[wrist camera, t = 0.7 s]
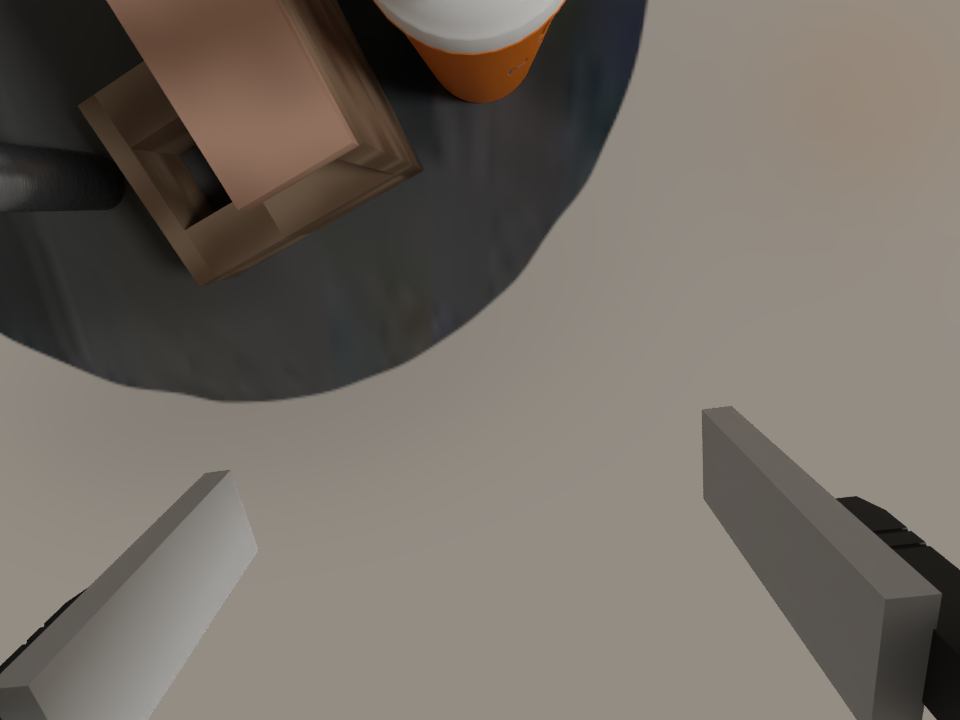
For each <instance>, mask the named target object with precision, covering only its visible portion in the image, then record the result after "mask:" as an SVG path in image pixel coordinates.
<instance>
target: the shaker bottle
mask: <svg viewBox="0 0 960 720" xmlns="http://www.w3.org/2000/svg"><path fill="white" fill-rule="evenodd" d="M565 1H566V0H373V2H374V3H375V4H376V5H377V7H378V8H379V9H380V10H381V12H382V13H383V14H384V15H385V17H386V18H387V19H388V20H389V21H390V22H391V23H393V24H394V25H395V26H396V27H397V28H399V29H400V30H401V31H402V32H403V33H404V34H405V35H406V36H407V38H408V39H409V41H410V42H411V43H412V45H413V46H414V47H415V49H416V50H417V52H418V53H419V54H420V56H421V57H422V59H423V60H424V61H425V63H426V64H427V66H428V67H429V68H430V70H431V71H432V73H433V74H434V75H435V77H436V78H437V79H438V81H439V82H440V83H441V84H442V86H443V87H444V88H445V89H446V90H448V91H449V92H450V93H451V94H453V95H454V96H456V97H458V98H460V99H462V100H465V101H469V102H473V103H486V102H493V101H495V100H498V99H501V98H503V97H505V96H506V95H508V94H509V93H511V92H512V91H513V90H514V89H515V88H516V87H517V86H518V85H519V84H520V83H521V82H522V80H523V79H524V78H525V76H526V75H527V73H528V70H529V68H530V66H531V64H532V62H533V60H534V57H535V55H536V53H537V51H538V49H539V47H540V45H541V42H542V40H543V38H544V36H545V34H546V32H547V30H548V27H549V25H550V23H551V21H552V19H553V17H554V15H555V14H556V13H557V12H558V11H559V9H560V8H561V7H562V5H563V4H564V2H565Z"/></svg>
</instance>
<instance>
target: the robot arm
mask: <svg viewBox="0 0 960 720" xmlns="http://www.w3.org/2000/svg"><path fill="white" fill-rule="evenodd" d="M702 437H703V489H704V492H703V493H704V500H705V501H706V503H707V504H708V506H709V507H710V508H711V510H712V511H713V513H714V514H715V516H716V517H717V518H718V520H719V521H720V523H721V524H722V526H723V527H724V529H725V530H726V532H727V533H728V534H729V536H730V537H731V539H732V540H733V542H734V543H735V545H736V546H737V547H738V549H739V550H740V552H741V553H742V555H743V556H744V558H745V559H746V560H747V562H748V563H749V565H750V566H751V568H752V569H753V570H754V572H755V573H756V575H757V576H758V578H759V579H760V581H761V582H762V583H763V585H764V586H765V588H766V589H767V591H768V592H769V593H770V595H771V596H772V598H773V599H774V601H775V602H776V604H777V605H778V607H779V608H780V609H781V611H782V612H783V614H784V615H785V617H786V618H787V620H788V621H789V622H790V624H791V625H792V627H793V628H794V630H795V631H796V633H797V634H798V635H799V637H800V638H801V640H802V641H803V643H804V644H805V645H806V647H807V648H808V650H809V651H810V653H811V654H812V656H813V657H814V659H815V660H816V661H817V663H818V664H819V666H820V667H821V669H822V670H823V671H824V673H825V674H826V676H827V677H828V679H829V680H830V682H831V683H832V685H833V686H834V687H835V689H836V690H837V692H838V693H839V695H840V696H841V697H842V699H843V700H844V702H845V703H846V705H847V706H848V708H849V709H850V711H851V712H852V713H853V715H854V716H855V718H856V719H857V720H922V715H923V710H924V705H925V706H926V707H927V708H928V710H929V711H930V712H931V713H932V714H933V716H934V717H935V718H936V719H937V720H960V570H959V569H958V568H957V567H955V566H954V565H953V564H952V563H950V562H949V561H948V560H947V559H945V558H944V557H943V556H942V555H941V554H939V553H938V552H937V551H935V550H934V549H933V548H932V547H931V546H926V543H925V542H924V541H923V540H922V539H921V538H919V537H918V536H917V535H916V534H914V533H913V532H912V531H908V530H907V527H906V526H904V525H903V524H902V523H901V522H899V521H898V520H897V519H896V518H894V517H893V516H892V515H891V514H890V513H888V512H887V511H886V510H884V509H882V508H880V507H878V506H876V505H874V504H871V503H870V502H867V501H865V500H863V499H861V498H859V497H857V496H854V497H845V498H836V499H835V498H834V497H833V496H832V495H831V494H830V493H828V492H827V491H826V490H825V489H824V488H823V487H821V485H819V484H818V483H817V482H816V481H815V480H814V479H813V478H812V477H810V476H809V475H808V474H807V473H806V472H805V471H804V470H803V469H802V468H800V467H799V466H798V465H797V464H796V463H795V462H794V461H793V460H791V459H790V458H789V457H788V456H787V455H786V454H785V453H784V452H782V451H781V450H780V449H779V448H778V447H777V446H776V445H774V444H773V443H772V442H771V441H770V440H769V439H768V438H767V437H766V436H764V435H763V434H762V433H761V432H760V431H759V430H758V429H756V428H755V427H754V426H753V425H752V424H751V423H750V422H749V421H748V420H746V419H745V418H744V417H743V416H742V415H741V414H739V412H737V411H736V410H735V409H734V408H733V407H732V406H728V407H720V408H712V409H704V410H702ZM257 552H258V547H257V545H256V542H255V539H254V536H253V533H252V530H251V527H250V524H249V521H248V518H247V516H246V513H245V510H244V507H243V504H242V501H241V498H240V495H239V492H238V489H237V486H236V484H235V481H234V478H233V475H232V472H231V470H226V471H218V472H211V473H205V474H204V475H203V476H202V477H201V478H200V479H199V480H198V481H197V482H196V483H195V484H194V485H193V486H192V487H190V489H188V491H186V492H185V493H184V494H183V495H182V496H181V497H180V498H179V499H178V500H177V501H176V502H175V503H174V504H173V505H172V506H171V507H170V508H169V509H168V510H167V511H166V512H165V513H164V514H163V515H162V516H161V517H160V518H159V519H158V520H157V521H156V522H155V523H154V524H153V525H152V526H151V527H150V528H149V529H148V530H147V531H146V532H145V533H144V534H143V535H142V536H140V538H139V539H137V540H136V541H135V542H134V543H133V544H132V545H131V546H130V547H129V548H128V549H127V550H126V551H125V552H124V553H123V554H122V555H121V556H120V557H119V558H118V559H117V560H116V561H115V562H114V563H113V564H112V565H111V566H110V567H109V568H108V569H107V570H106V571H105V572H104V573H103V574H102V575H101V576H100V577H99V578H98V579H97V580H96V581H95V582H94V583H93V584H92V585H91V586H89V587H88V588H87V589H85V590H84V591H83V592H81V593H79V594H78V595H77V596H75V597H74V598H72V599H71V600H69V601H68V602H66V603H65V604H64V605H63V606H62V607H61V608H60V609H59V610H58V611H57V612H56V613H55V614H54V615H53V616H52V617H51V618H50V619H49V620H48V621H46V622H45V623H44V627H41V628H39V629H38V630H37V631H36V632H35V633H34V634H33V635H32V636H31V637H30V638H29V639H28V640H27V643H26V644H24V645H22V646H21V647H19V648H18V649H17V650H16V651H15V652H14V653H13V654H12V655H11V656H10V657H9V658H8V659H7V660H6V661H5V662H4V663H3V664H2V665H1V666H0V720H148V719H149V717H150V716H151V714H152V713H153V711H154V710H155V708H156V707H157V705H158V703H159V702H160V700H161V699H162V697H163V696H164V694H165V693H166V691H167V689H168V688H169V687H170V685H171V684H172V682H173V680H174V679H175V677H176V676H177V674H178V673H179V671H180V670H181V668H182V667H183V665H184V664H185V662H186V660H187V659H188V657H189V656H190V654H191V653H192V651H193V650H194V648H195V647H196V645H197V644H198V642H199V641H200V639H201V638H202V636H203V634H204V633H205V631H206V630H207V628H208V626H209V625H210V624H211V622H212V621H213V619H214V618H215V616H216V615H217V613H218V611H219V610H220V608H221V607H222V605H223V604H224V602H225V601H226V599H227V597H228V596H229V595H230V593H231V591H232V590H233V588H234V587H235V585H236V584H237V582H238V581H239V579H240V578H241V576H242V575H243V573H244V572H245V570H246V568H247V567H248V565H249V564H250V562H251V561H252V559H253V558H254V556H255V555H256V553H257Z"/></svg>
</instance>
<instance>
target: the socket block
mask: <svg viewBox="0 0 960 720" xmlns="http://www.w3.org/2000/svg"><path fill="white" fill-rule="evenodd" d="M107 2H108V4H109V5H110V7H111V8H112V10H113V12H114V13H115V15H116V16H117V18H118V20H119V21H120V23H121V24H122V26H123V28H124V29H125V31H126V32H127V34H128V36H129V37H130V39H131V40H132V42H133V44H134V45H135V47H136V48H137V50H138V52H139V53H140V55H141V56H142V58H143V59H144V61H143V62H142V63H140V64H139V65H137V66H136V67H134V68H133V69H131V70H130V71H128V72H127V73H125V74H124V75H122V76H121V77H119V78H118V79H116V80H115V81H113V82H112V83H110V84H109V85H107V86H106V87H104V88H103V89H101V90H100V91H99V92H97V93H96V94H94V95H93V96H91V97H90V98H88V99H87V100H85V101H84V102H82V103H81V104H79V105H78V108H79V109H80V111H81V112H82V114H83V115H84V116H85V118H86V119H87V121H88V122H89V124H90V125H91V127H92V128H93V130H94V131H95V133H96V134H97V136H98V137H99V139H100V140H101V142H102V143H103V145H104V146H105V148H106V149H107V151H108V152H109V154H110V155H111V157H112V158H113V159H114V161H115V162H116V164H117V165H118V167H119V168H120V170H121V171H122V173H123V174H124V176H125V177H126V179H127V180H128V182H129V183H130V185H131V186H132V188H133V189H134V191H135V192H136V194H137V195H138V197H139V198H140V199H141V201H142V202H143V204H144V205H145V207H146V208H147V210H148V211H149V213H150V214H151V216H152V217H153V219H154V220H155V222H156V223H157V225H158V226H159V228H160V229H161V231H162V232H163V234H164V235H165V237H166V238H167V239H168V241H169V242H170V244H171V245H172V247H173V248H174V250H175V251H176V253H177V254H178V256H179V257H180V259H181V260H182V262H183V263H184V265H185V266H186V268H187V269H188V271H189V272H190V274H191V275H192V277H193V278H194V279H195V281H196V282H197V284H198V285H199V287H200V286H203V285H207V284H210V283H214V282H217V281H220V280H224V279H227V278H231V277H234V276H237V275H239V274H241V273H243V272H244V271H246V270H248V269H250V268H251V267H253V266H255V265H257V264H258V263H260V262H262V261H264V260H266V259H267V258H269V257H271V256H273V255H274V254H276V253H278V252H280V251H281V250H283V249H285V248H287V247H289V246H290V245H292V244H294V243H296V242H297V241H299V240H301V239H303V238H304V237H306V236H308V235H310V234H312V233H313V232H315V231H317V230H319V229H320V228H322V227H324V226H326V225H327V224H329V223H331V222H333V221H335V220H336V219H338V218H340V217H342V216H343V215H345V214H347V213H349V212H350V211H352V210H354V209H356V208H358V207H359V206H361V205H363V204H365V203H366V202H368V201H370V200H372V199H373V198H375V197H377V196H379V195H381V194H382V193H384V192H386V191H388V190H389V189H391V188H393V187H395V186H396V185H398V184H400V183H402V182H404V181H405V180H407V179H409V178H411V177H412V176H414V175H416V174H418V173H419V172H421V171H423V170H424V169H423V167H422V165H421V163H420V161H419V159H418V157H417V155H416V153H415V151H414V149H413V148H412V146H411V144H410V142H409V140H408V138H407V136H406V134H405V132H404V130H403V128H402V126H401V124H400V122H399V120H398V118H397V117H396V115H395V113H394V111H393V109H392V107H391V105H390V103H389V101H388V99H387V97H386V95H385V93H384V91H383V89H382V87H381V85H380V84H379V82H378V80H377V78H376V76H375V74H374V72H373V70H372V68H371V66H370V64H369V62H368V60H367V58H366V56H365V54H364V52H363V51H362V49H361V47H360V45H359V43H358V41H357V39H356V37H355V35H354V33H353V31H352V29H351V27H350V25H349V23H348V21H347V19H346V18H345V16H344V14H343V12H342V10H341V8H340V6H339V4H338V2H337V0H107ZM195 145H197V146H198V147H199V149H200V150H201V152H202V154H203V155H204V157H205V158H206V160H207V162H208V163H209V165H210V166H211V168H212V170H213V171H214V173H215V174H216V176H217V178H218V179H219V181H220V182H221V184H222V186H223V187H224V189H225V190H226V192H227V194H228V195H229V197H230V198H231V200H232V203H230V204H228V205H227V206H225V207H223V208H221V209H220V210H218V211H216V212H215V211H214V209H213V208H212V206H211V205H210V203H209V201H208V200H207V198H206V197H205V195H204V194H203V192H202V191H201V189H200V187H199V186H198V184H197V183H196V181H195V180H194V178H193V176H192V175H191V173H190V172H189V170H188V169H187V167H186V166H185V164H184V162H183V161H182V159H181V158H180V156H179V155H181V154H182V153H184V152H186V151H187V150H189V149H190V148H192V147H194V146H195Z"/></svg>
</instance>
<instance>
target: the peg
mask: <svg viewBox="0 0 960 720" xmlns="http://www.w3.org/2000/svg"><path fill="white" fill-rule="evenodd" d="M123 195H124V180H123V177H122V175H121V173H120V171H119V169H118V168H117V166H116V165H115V164H114V163H113V162H112V161H111V160H109V159H108V158H106V157H104V156H102V155H99V154H94V153H86V152H77V151H69V150H61V149H52V148H44V147H36V146H27V145H19V144H11V143H2V142H0V212H36V211H82V210H109V209H112V208H114V207H115V206H117V205H118V204H119V203H120V201H121V200H122V198H123Z"/></svg>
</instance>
